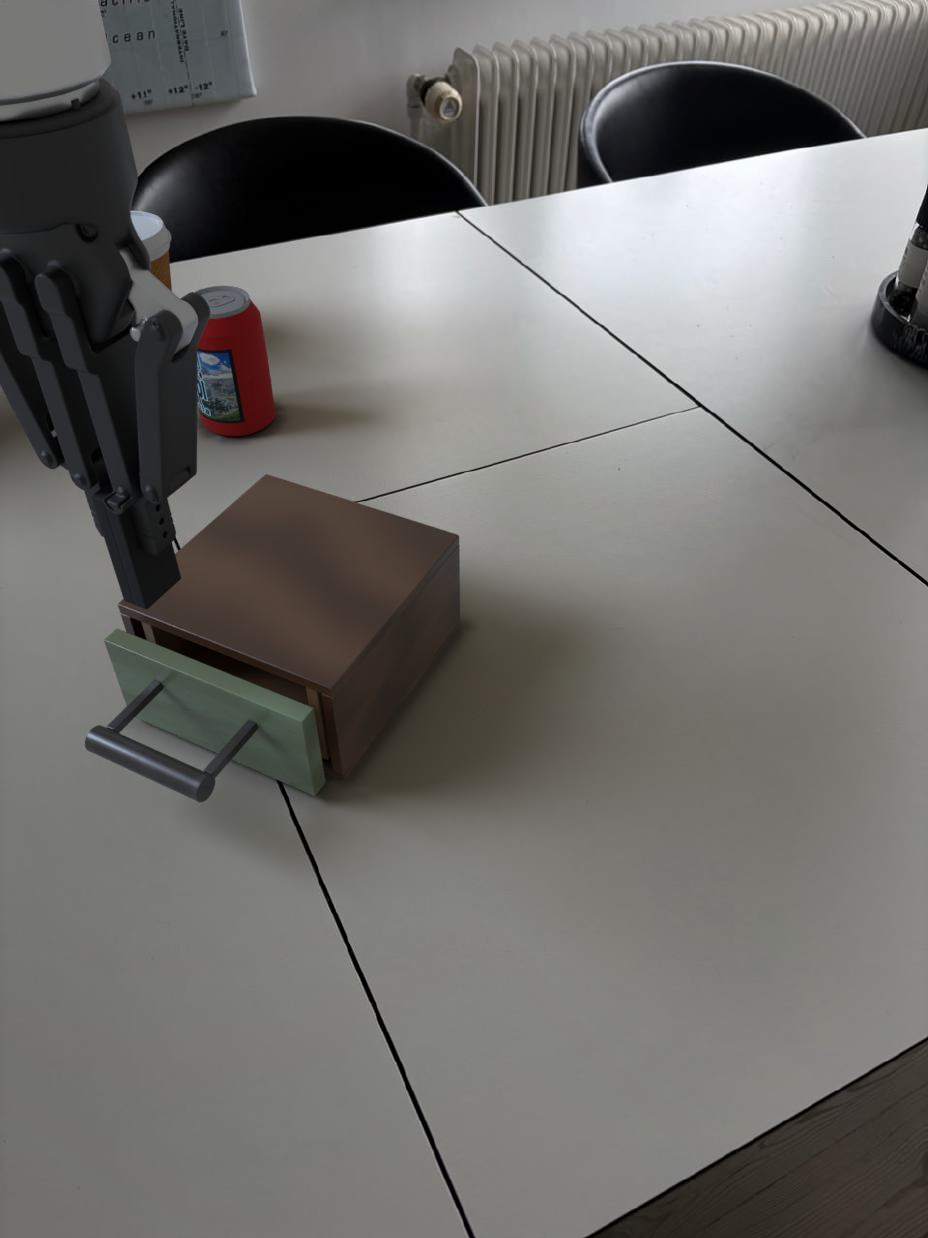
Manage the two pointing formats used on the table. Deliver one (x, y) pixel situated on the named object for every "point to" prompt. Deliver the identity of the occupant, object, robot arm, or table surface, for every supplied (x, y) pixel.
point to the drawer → (210, 715)
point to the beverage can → (233, 365)
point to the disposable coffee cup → (154, 243)
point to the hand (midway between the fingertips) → (153, 589)
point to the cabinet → (318, 602)
